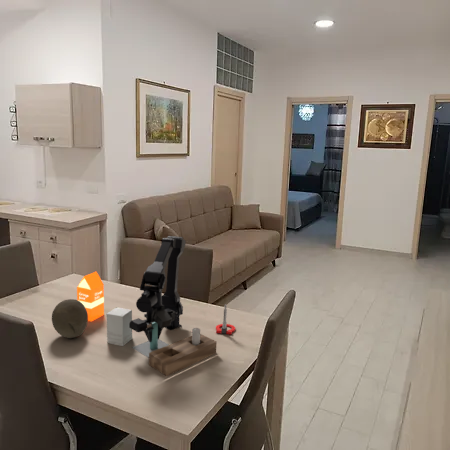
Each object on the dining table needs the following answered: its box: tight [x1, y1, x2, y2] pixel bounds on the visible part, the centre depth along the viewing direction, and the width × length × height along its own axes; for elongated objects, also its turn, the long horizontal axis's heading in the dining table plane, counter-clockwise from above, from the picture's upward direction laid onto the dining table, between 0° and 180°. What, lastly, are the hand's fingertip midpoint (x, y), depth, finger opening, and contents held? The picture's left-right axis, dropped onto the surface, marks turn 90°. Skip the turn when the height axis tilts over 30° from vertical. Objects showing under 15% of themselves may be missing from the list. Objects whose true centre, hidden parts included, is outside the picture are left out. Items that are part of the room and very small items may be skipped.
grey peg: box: [191, 327, 201, 346], centre depth 160 cm, size 3×3×10 cm
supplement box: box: [106, 306, 133, 347], centre depth 168 cm, size 7×7×13 cm
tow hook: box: [215, 304, 236, 335], centre depth 182 cm, size 8×13×9 cm
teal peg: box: [150, 322, 158, 350], centre depth 163 cm, size 3×3×10 cm
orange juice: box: [76, 271, 105, 322], centre depth 189 cm, size 8×9×20 cm
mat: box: [131, 338, 170, 359], centre depth 164 cm, size 12×12×1 cm
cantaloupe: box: [51, 299, 89, 339], centre depth 170 cm, size 14×14×15 cm
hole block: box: [148, 333, 217, 377], centre depth 156 cm, size 10×24×5 cm, turn 137°
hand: (153, 340), depth 163 cm, fingers closed on teal peg, 3 cm apart
